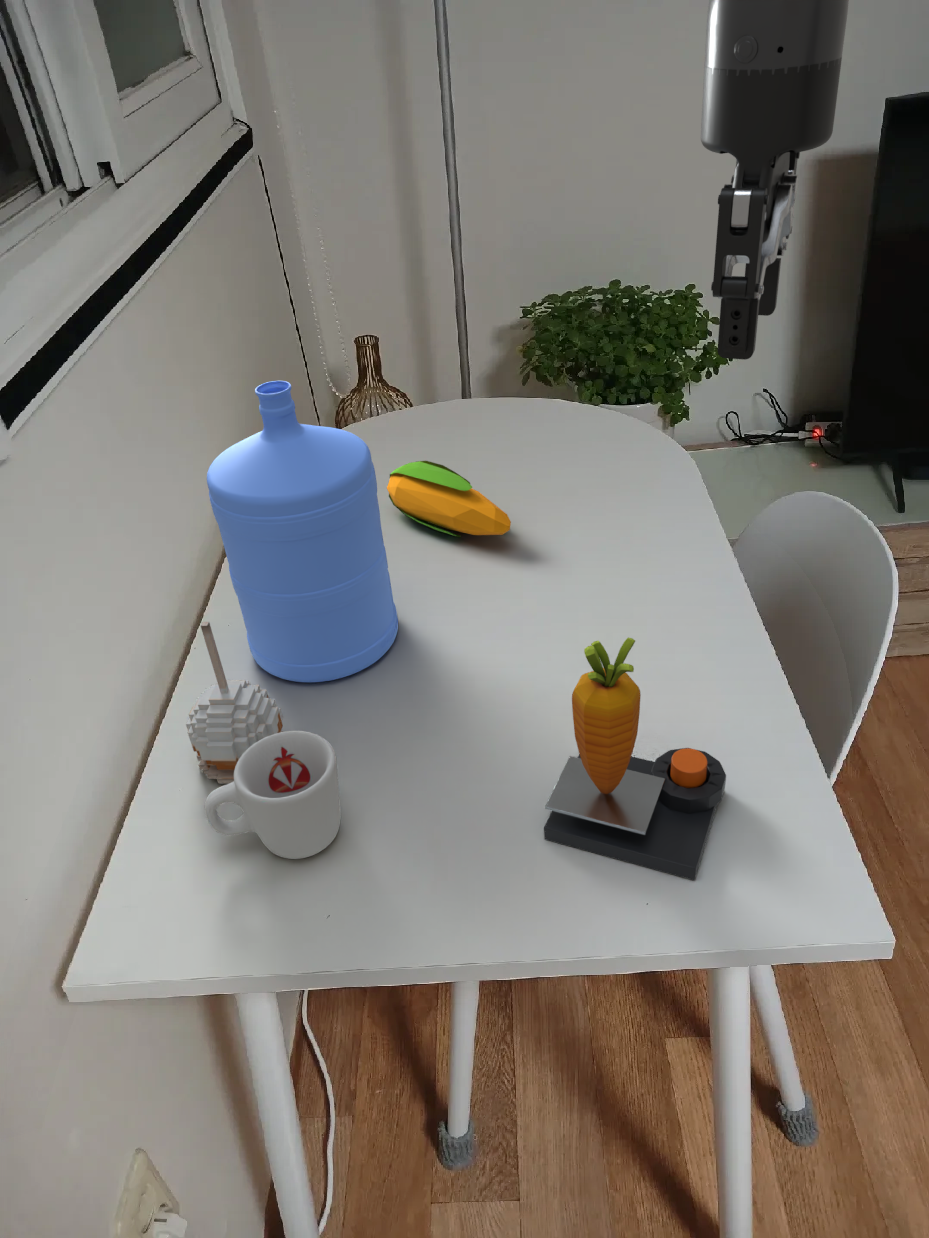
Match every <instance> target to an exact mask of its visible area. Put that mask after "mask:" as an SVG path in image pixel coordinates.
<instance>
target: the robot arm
mask: <svg viewBox="0 0 929 1238" xmlns="http://www.w3.org/2000/svg"><path fill="white" fill-rule="evenodd" d="M849 1H850V0H708V6H707V14H706V15H707V17H706V29H705V48H704V67H703V68H704V70H703V89H702V105H701V106H702V108H701V123H700V124H701V125H700V142H701V145H702V147H704V148H705V149H706V150H708V151H710V152H712V153H715V154H720V155H723V154H729V155H731V156H733V157H734V158H735V167H734V173H733V174H732V176H731V179H730V183H725V184H724V185H723V187H722V188H721V190H720V193H719V194H718V197H717V205H718V215H717V227H716V239H715V240H716V241H715V255H714V266H713V279H712V282H711V287H710V290H711V291H712V297H713V298H718V299H719V300H720V309H719V310H720V311H719V322H718V323H719V324H718V337H717V338H718V339H717V354H718V356H719V357H720V358H722V359H729V360H749V359H751V358H752V357H753V355H754V353H755V350H756V342H757V331H758V321H759V316H771V315H772V314H774V312H775V310H776V308H777V303H778V293H779V284H780V283H779V282H780V273H781V265H782V257H783V256H784V255H785V251H787V249H788V241H787V240H789V238H790V235H791V234H792V231H793V222H794V218H795V203H796V199H797V195H798V191H799V190H798V189H799V174H797V169H798V160H799V159H800V155H801V153H802V152H807V151H810V150H815V149H817V148H820V147H822V146H823V145H825V144H826V143H827V142H828V141H829V140H830V139H831V137H832V136H833V133H834V132H833V131H834V124H835V116H836V109H837V101H838V100H837V99H838V93H839V85H840V78H841V77H840V75H841V69H842V60H843V51H844V45H845V36H846V29H847V28H846V27H847V22H848V21H847V20H848V14H849V13H848V12H849V3H850V2H849ZM737 264H745V269H744V276H738V275H733V270H734V267H735V265H737Z"/></svg>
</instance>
